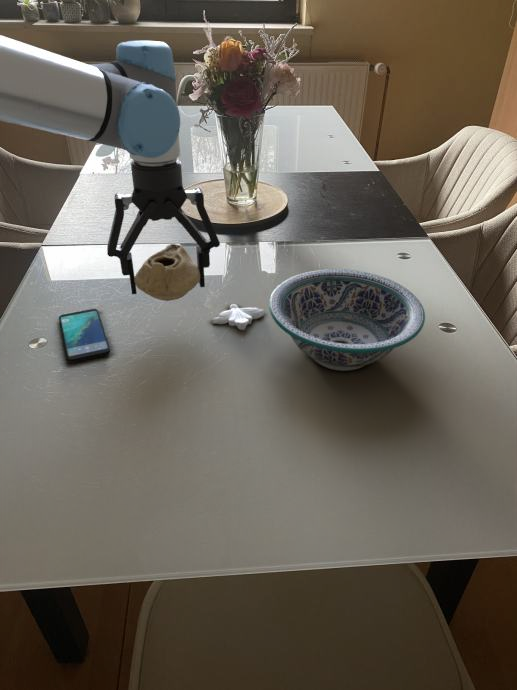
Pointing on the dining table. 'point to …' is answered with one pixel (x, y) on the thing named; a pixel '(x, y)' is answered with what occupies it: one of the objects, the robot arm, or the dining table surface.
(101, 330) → the smartphone
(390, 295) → the bowl
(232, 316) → the acanthus leaf ornament
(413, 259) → the dining table surface
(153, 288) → the oil lamp
